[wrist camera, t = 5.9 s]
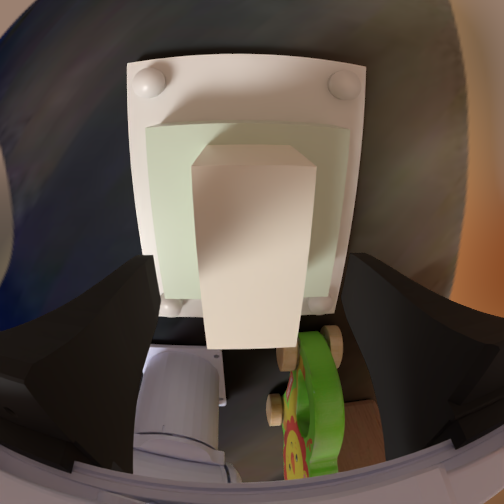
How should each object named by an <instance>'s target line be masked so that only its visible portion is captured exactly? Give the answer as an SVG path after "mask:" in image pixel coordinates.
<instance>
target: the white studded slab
mask: <svg viewBox="0 0 504 504" xmlns="http://www.w3.org/2000/svg"><path fill="white" fill-rule="evenodd" d="M365 84H366V67H365V66H360V65H355V64H349V63H343V62H337V61H330V60H323V59H315V58H306V57H296V56H283V55H266V54H210V55H192V56H180V57H170V58H161V59H153V60H146V61H139V62H133V63H127V105H128V129H129V145H130V158H131V169H132V180H133V189H134V198H135V206H136V213H137V220H138V227H139V234H140V240H141V247H142V253H143V255H153V257H154V263H155V269H156V275H157V281H158V286H159V292H160V297H161V305H160V311H159V316H166V317H203V310H202V301H201V291H200V281H199V271H198V260H197V249H196V236H195V223H194V209H193V193H192V174H191V166H192V164H193V163H194V162H195V160H196V159H197V157H198V156H199V155H200V153H201V152H202V150H203V149H204V148H205V146H206V145H227V144H267V145H291V146H292V147H293V148H295V149H296V150H297V151H298V152H300V153H301V154H302V155H303V156H305V157H306V158H307V159H308V160H310V161H311V162H312V163H313V164H314V165H316V166H317V171H316V184H315V196H314V207H313V218H312V228H311V238H310V247H309V256H308V264H307V273H306V281H305V288H304V296H303V303H302V310H301V315H314V314H315V315H323V314H332V313H334V312H335V307H336V303H337V299H338V294H339V289H340V284H341V280H342V275H343V269H344V264H345V259H346V254H347V248H348V242H349V236H350V230H351V224H352V218H353V211H354V204H355V197H356V190H357V182H358V173H359V165H360V155H361V145H362V134H363V121H364V105H365Z"/></svg>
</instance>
